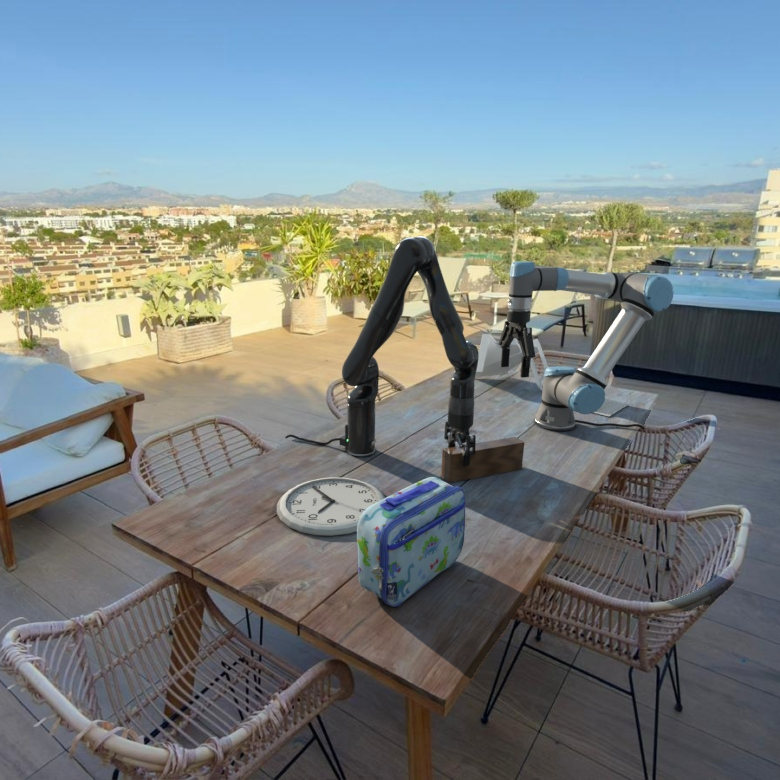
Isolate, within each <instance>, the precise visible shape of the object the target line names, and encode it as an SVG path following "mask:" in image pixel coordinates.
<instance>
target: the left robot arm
mask: <svg viewBox="0 0 780 780" xmlns="http://www.w3.org/2000/svg"><path fill="white" fill-rule="evenodd" d="M417 273H418V275H419V277H420V278H421V280H422V282H423V284H424V287H425V291H426V294H427V295H426V296H427V303H428V309H429V312H430V316H431V318H432V321H433V322H434V324H435V326H436V329H437V332H438V333H439V335H440V336H441V340H442V345H443V348H444V351H445V355H446V358H447V360H448V362H449V364H450V365H451V366H452V367H453V368H454V369H453V374H452V376H451V378H450V382H449V398H448V404H447V405H448V407H447V421H445V424H444V436H443V438H444V440H446V443H447V448H450V447H457V446H456V445H457V444H458V446H459V447H460V448H461V449H462V453H463V455H462V466H464V467H466V466H469V465H470V455H475V447H476V443H477V438H476V437H477V436H476V435H475V434H471V433H470V429H471V428H472V427H473V425H474V417H475V381H476V378H475V375H476V370H477V365H478V358H479V353H478V352H479V349H478V347H477V345H476V344H475V343H474V342H472V341H470V340H467V339H466V337H465V335H464V330H465V327H464V324H463V321H462V319H461V317H460V314H459V313H458V310H457V308H456V306H455V305H454V302H453V300H452V297H451V295H450V292H449V290H448V288H447V284H446V282H445V278H444V275H443V273H442V270H441V266H440V263H439V259H438V255H437V252H436V249H435V246H434V244H433V243H432V241H431V240H430V239H429V238H428V237H425V236H412V237H407V238H404V239H402V240H401V241H400V242H399V243H398V244H397V245H396V247H395V249H394V252H393V255H392V257H391V260H390V263H389V267H388V270H387V271H386V276H385V278H384V280H383V283H382V284H381V287H380V289H379V291H378V293H377V295H376V298H375V300H374V301H373V304H372V306H371V308H370V310H369V312H368V315H367V317H366V320H365V323H364V324H363V326H362V329H361V330H360V332H359V335H358V337H357V339H356V341H355V343H354V345H353V347H352V348H351V350H350V351H349V354H348V355H347V356H346V359H345V360H344V362H343V364H342V368H341V377H342V380H343V382H344V383H345V384H346V385H348V386H350V387H353V388H352V390H351V391H350V392H349V393H348V394H347V398H346V404H347V405H346V408H347V409H346V410H347V412H346V413H347V423H346V424H345V425H344V435H342V436H340V437H335V438H332V439H329V440H328V441H326V442H325V441H323V442H321V441H316V440H311V439H308V438H305V437H300V436H297V435H294V434H287V435H286V436H285V437H284V438H285V439H288V438H294V439H296V440H299V441H304V442H307V443H310V444H314V445H315V444H316V445H320V446H326V445H327V446H328V445H329V444H331V443H332V442H336V441H339V446H342V447H344V450H345V451H344V452H347V453H348V454H349V455H350V456H353V457H358V458H359V457H360V458H364V457H369V456H372V455H374V454H375V453H376V443H377V438H376V399H377V397H378V395H379V394H378V393H379V381H380V380H379V379H380V378H379V377H380V369H379V364H378V361H377V359H376V358H375V357H374V356H375V354H376V353H377V351H379V349H380V348H381V347H382V346H383V345H384V344H385V343H387V341H388V340H389V339H390V338H391V336H392V335H393V334H394V332H395V331H396V329H397V327H398V325H399V323H400V321H401V319H402V316H403V313H404V310H405V309H404V308H405V298H406V294H407V290H408V288H409V286H410V284H411V282H412V281H413V278H414V277H415V276H416V274H417ZM299 437H300V438H299ZM456 443H457V444H456ZM465 447H466V451H465ZM471 448H472V451H471Z"/></svg>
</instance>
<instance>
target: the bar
mask: <svg viewBox="0 0 780 780" xmlns="http://www.w3.org/2000/svg"><path fill="white" fill-rule="evenodd" d="M524 450H525V441H523V440H522V439H519V438H518V437H517V436H512V437H511V436H510V437H506V438H505V437H504V438H500V439H494V440H489V441H488V440H487V441H481V442H476V447H475V455H470V465H469V466H466V467H464V466H462V455H463V453H462V449H461V448H460V447H459V445H457V446H455V447H450V448H448V447H446V448H445V447H443V448H442V452H441V453H442V454H441V471H440V472H441V473H440V476H441V477H442V479H444V480H445V482H446V483H448V484H451V483H457V482H462V481H466V480H471V479H476V478H482V477H486V476H493V475H497V474H503V473H508V472H513V471H518V470H522V469H523V462H524ZM465 451H466V447H465ZM471 451H472V448H471Z"/></svg>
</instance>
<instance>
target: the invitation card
mask: <svg viewBox="0 0 780 780" xmlns="http://www.w3.org/2000/svg"><path fill="white" fill-rule="evenodd" d="M628 406H629V404H627V403H623V402H618V401H614V400H609V399H606V398H605V401H604V403H603V405H602V406H601V407H600V408H599V409H598V410H597V411H595V412H593V413H592V414H596V415H600V416H604V417H608V418H609V417H611V416H613V415H614V414H616V413H617V412H619V411H621V410H623V409H624V408H626V407H628Z"/></svg>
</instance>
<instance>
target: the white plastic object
mask: <svg viewBox="0 0 780 780" xmlns="http://www.w3.org/2000/svg"><path fill="white" fill-rule="evenodd" d="M528 324H529V323H528V322H527V323H526V327H529V325H528ZM527 335H528V334H527ZM502 342H503V341H502ZM533 344H534V350H535V354H537V353H538V354H539V357H540V360H541V363H542V367H543V369H544V371H545V370H546V369H547V368H549V367H550V366H549V365H548V361H547V359H546V356H545V352H544V350H543V348H542V345H541V342H540V339H538V338H534V339H533ZM509 349H510V355H509V367H501V356H502V348H501V345H499V341H497V340H496V339H495V338H494V336H492V334H491V333H482V334H481V339H480V344H479V349H478V353H479V358H478V365H477V370H476V375H475V379H476V378H485V377H492V376H493V377H494V376H498V377H502V376H506V375H508V374H509V371H511V370H513V368H515V367H516V366H518V365H519V364H521V363H522V357H523V353H522V350H521V347H520V343H519V341H518V340H517V338H514V339H513V341H512V343H511V344H510V348H509ZM531 354H532V353H531ZM530 368H531V372H532V375H533V378H534V381H535V384H536V386H537V387H538V388H539V390H540V391H542V392H543V384H542V382H541V379H540V376H539V372H538V370H537V366H536V364H535V361H534V358H531V361H530Z"/></svg>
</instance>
